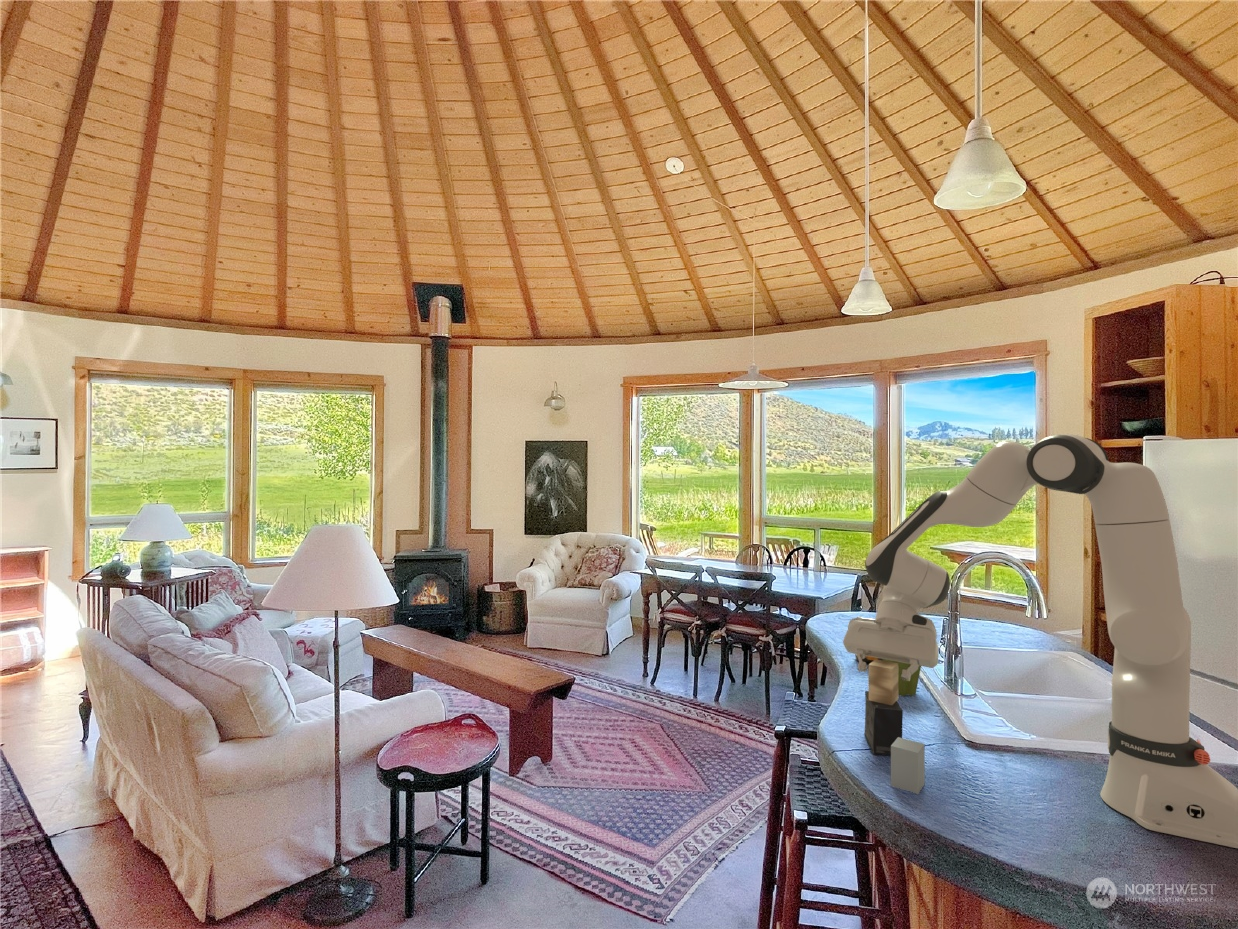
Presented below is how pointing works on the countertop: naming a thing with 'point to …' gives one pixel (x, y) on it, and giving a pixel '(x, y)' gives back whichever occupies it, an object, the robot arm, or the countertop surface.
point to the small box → (882, 725)
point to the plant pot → (904, 685)
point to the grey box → (908, 765)
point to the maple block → (883, 682)
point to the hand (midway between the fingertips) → (883, 674)
